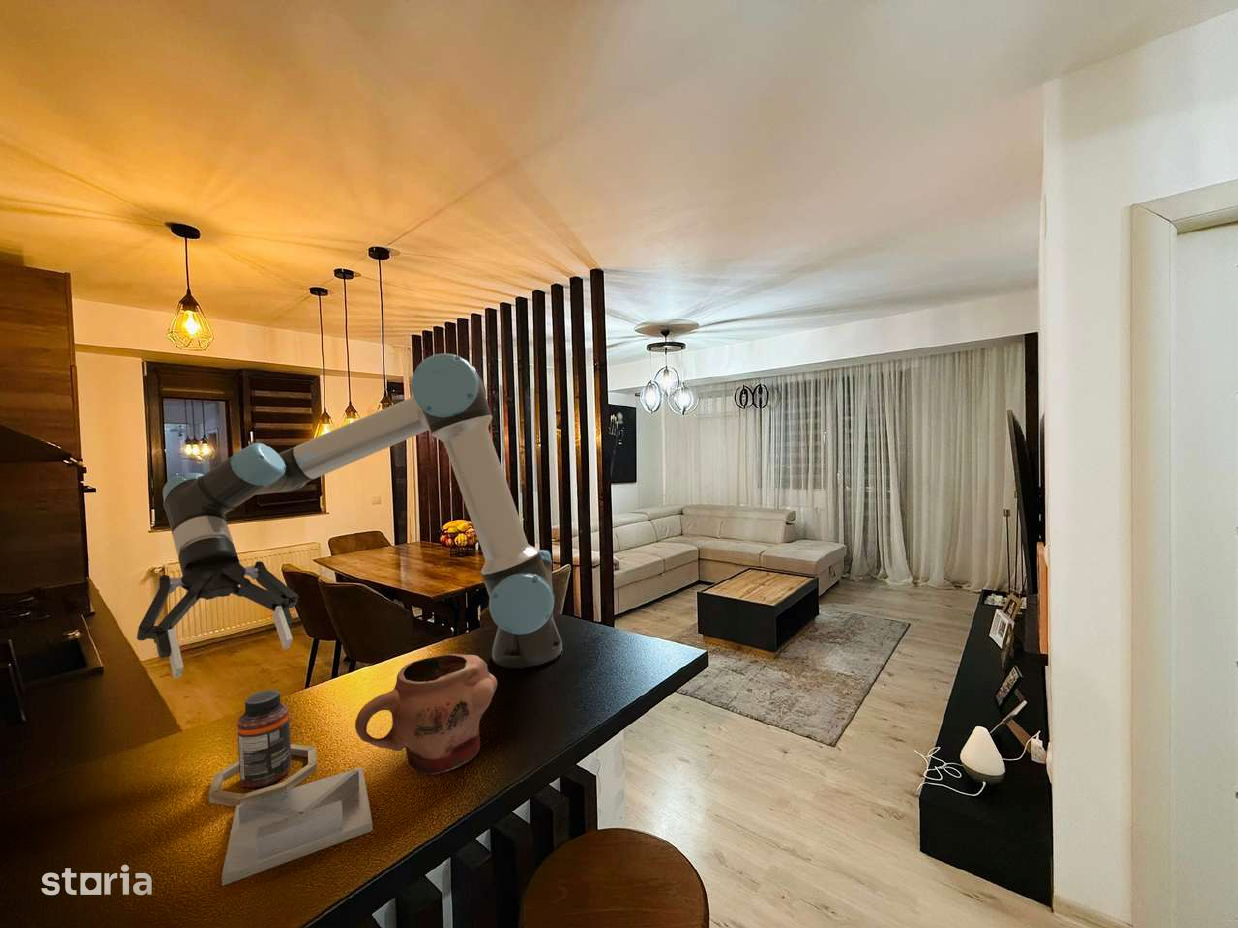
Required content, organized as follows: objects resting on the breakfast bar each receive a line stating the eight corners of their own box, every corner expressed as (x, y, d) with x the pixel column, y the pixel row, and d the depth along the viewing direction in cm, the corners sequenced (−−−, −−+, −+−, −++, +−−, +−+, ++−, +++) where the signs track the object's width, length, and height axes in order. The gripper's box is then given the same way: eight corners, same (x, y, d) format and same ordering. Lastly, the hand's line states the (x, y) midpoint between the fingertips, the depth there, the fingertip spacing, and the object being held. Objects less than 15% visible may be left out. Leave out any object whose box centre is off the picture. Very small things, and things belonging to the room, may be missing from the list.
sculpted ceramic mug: (381, 819, 61) (376, 705, 61) (342, 779, 70) (338, 678, 69) (516, 746, 76) (513, 654, 76) (471, 720, 84) (469, 637, 84)
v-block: (236, 813, 63) (235, 785, 63) (362, 773, 71) (361, 748, 71) (222, 885, 52) (220, 851, 52) (372, 830, 60) (371, 800, 60)
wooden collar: (315, 742, 79) (315, 736, 79) (317, 783, 69) (316, 775, 69) (218, 769, 73) (218, 762, 73) (203, 818, 63) (203, 810, 63)
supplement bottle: (261, 763, 74) (258, 686, 74) (301, 763, 74) (298, 685, 74) (228, 790, 68) (225, 706, 68) (271, 790, 68) (268, 705, 68)
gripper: (284, 552, 98) (319, 646, 88) (100, 578, 78) (120, 702, 69) (294, 526, 94) (331, 621, 85) (104, 546, 75) (125, 672, 66)
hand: (237, 657), depth 77 cm, fingers open, 13 cm apart
